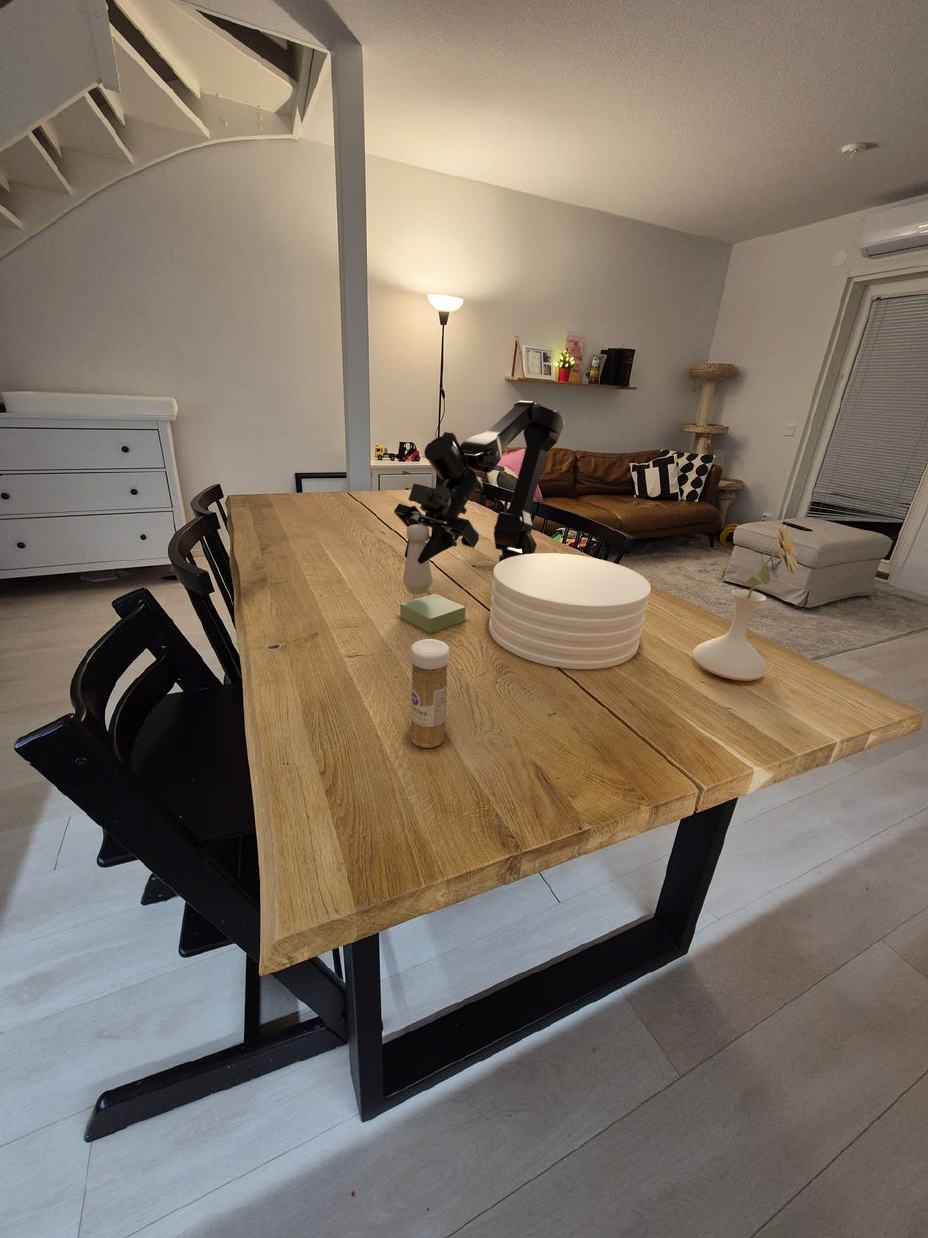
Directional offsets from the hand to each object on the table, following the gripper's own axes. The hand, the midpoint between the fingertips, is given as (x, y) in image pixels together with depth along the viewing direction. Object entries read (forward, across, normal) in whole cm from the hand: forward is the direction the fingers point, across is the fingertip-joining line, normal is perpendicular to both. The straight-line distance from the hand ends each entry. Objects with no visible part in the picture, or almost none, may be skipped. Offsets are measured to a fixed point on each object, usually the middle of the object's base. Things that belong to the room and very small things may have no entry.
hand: (412, 560), depth 96 cm
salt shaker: (+4, 0, +6) cm, 7 cm away
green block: (+7, +4, +9) cm, 12 cm away
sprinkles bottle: (+26, +30, -10) cm, 41 cm away
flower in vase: (-9, +53, +26) cm, 60 cm away
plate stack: (-3, +25, +19) cm, 32 cm away
